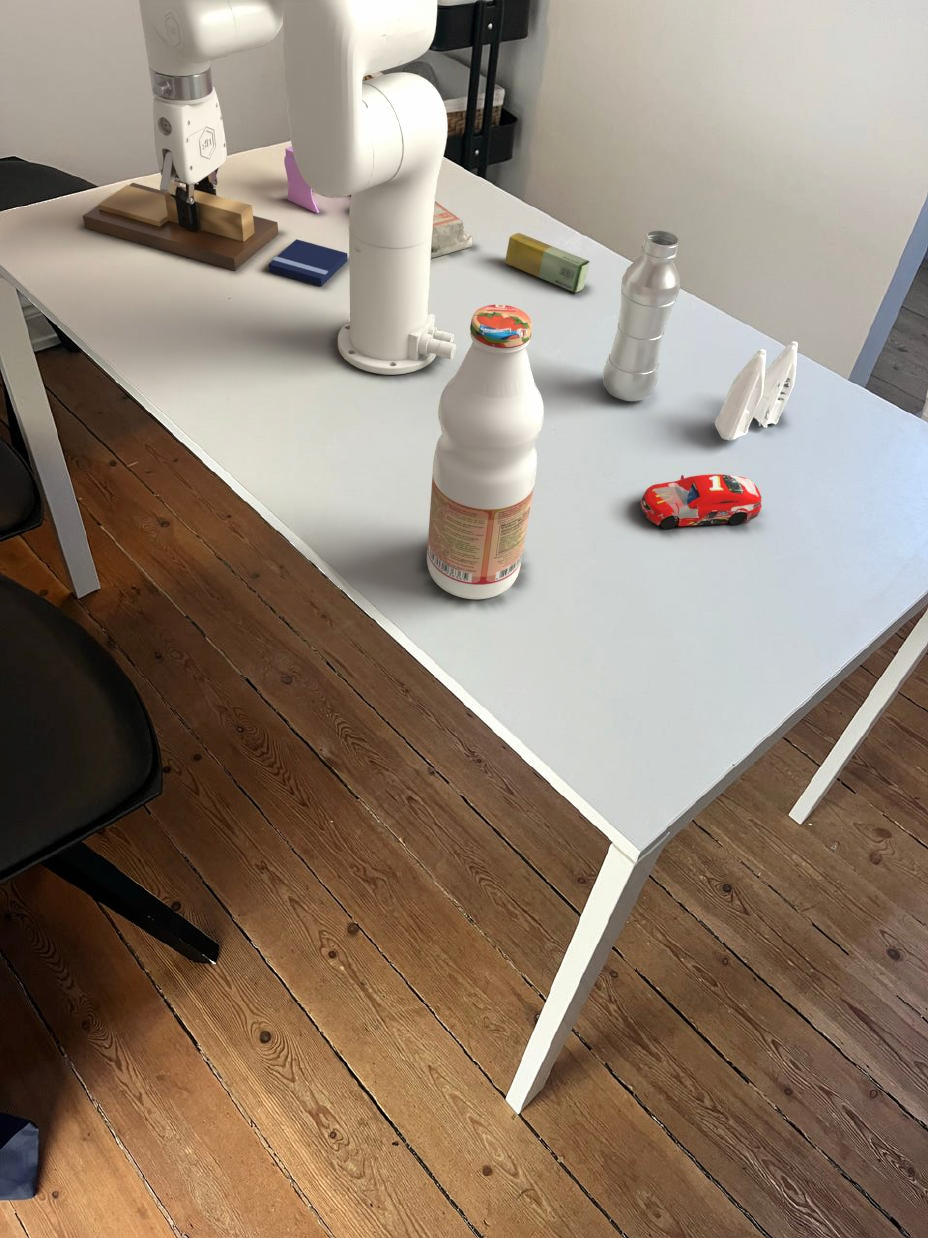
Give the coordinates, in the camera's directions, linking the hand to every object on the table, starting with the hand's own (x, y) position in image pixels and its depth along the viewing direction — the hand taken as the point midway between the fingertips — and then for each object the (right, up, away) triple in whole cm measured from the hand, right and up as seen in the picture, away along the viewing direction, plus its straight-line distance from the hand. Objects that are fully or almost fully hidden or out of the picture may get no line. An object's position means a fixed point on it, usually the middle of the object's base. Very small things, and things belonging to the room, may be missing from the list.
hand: (198, 220), depth 137 cm
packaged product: (+29, +2, +8) cm, 30 cm away
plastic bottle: (+57, -28, -16) cm, 66 cm away
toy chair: (+15, +8, +12) cm, 21 cm away
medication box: (+49, -7, +2) cm, 49 cm away
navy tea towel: (+16, -7, -2) cm, 17 cm away
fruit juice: (+38, -51, -39) cm, 74 cm away
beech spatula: (-3, +1, +1) cm, 3 cm away
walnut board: (-3, -1, +2) cm, 4 cm away
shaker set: (+71, -33, -19) cm, 81 cm away
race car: (+63, -44, -30) cm, 82 cm away
